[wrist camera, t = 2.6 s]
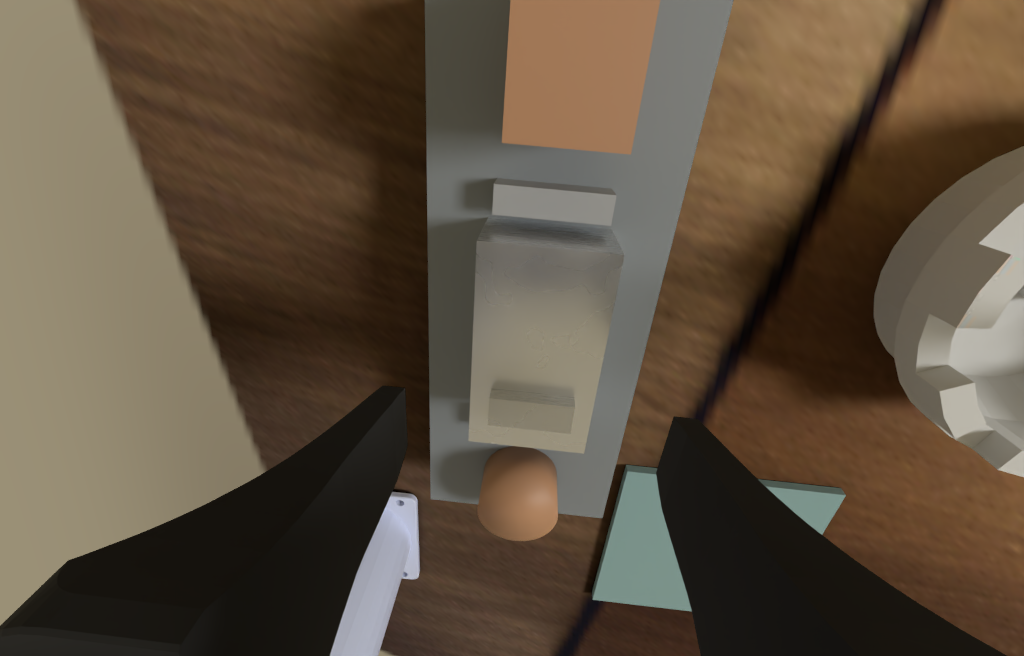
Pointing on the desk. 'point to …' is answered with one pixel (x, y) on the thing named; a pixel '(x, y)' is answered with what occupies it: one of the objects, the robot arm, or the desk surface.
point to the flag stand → (963, 311)
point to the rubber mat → (647, 545)
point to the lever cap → (540, 331)
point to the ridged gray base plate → (554, 205)
